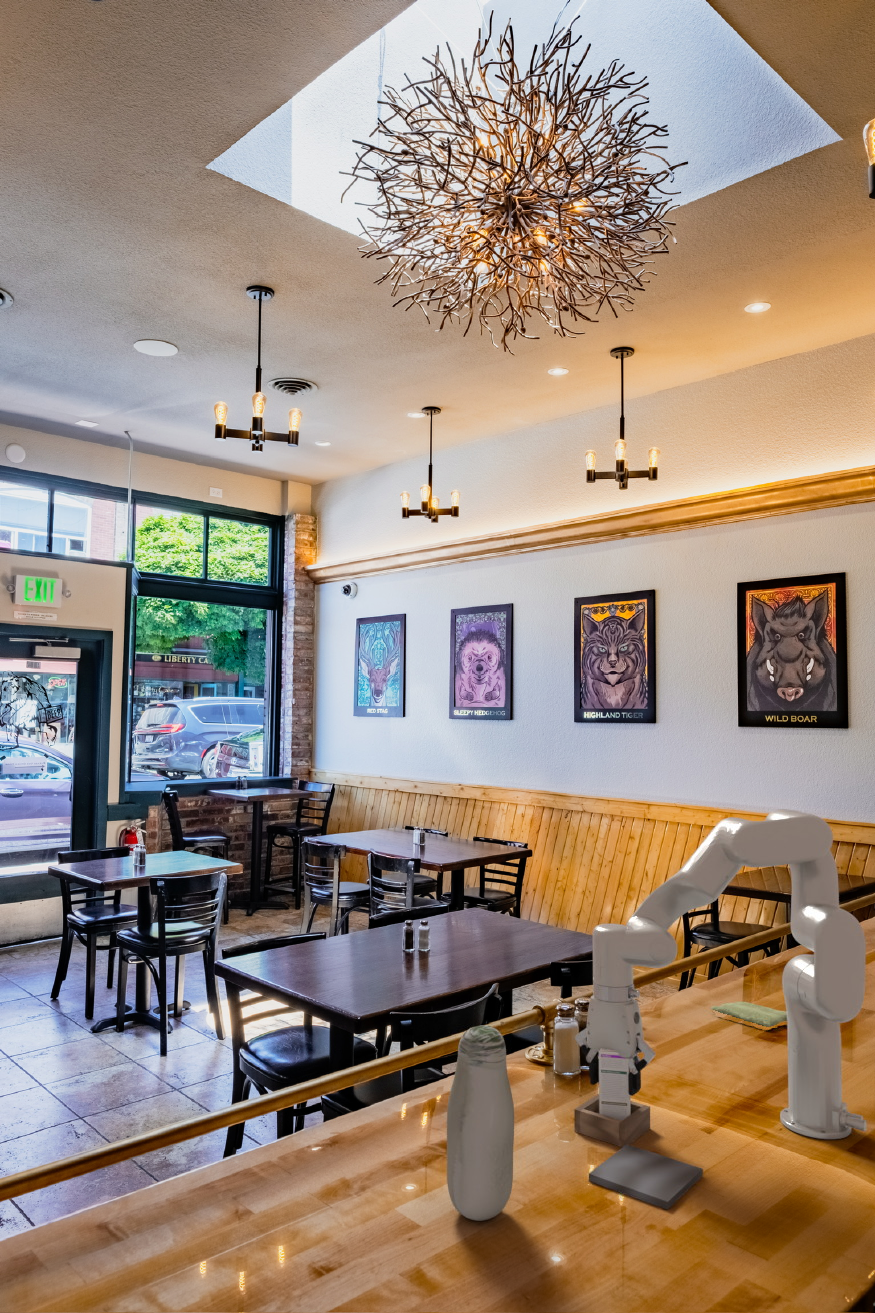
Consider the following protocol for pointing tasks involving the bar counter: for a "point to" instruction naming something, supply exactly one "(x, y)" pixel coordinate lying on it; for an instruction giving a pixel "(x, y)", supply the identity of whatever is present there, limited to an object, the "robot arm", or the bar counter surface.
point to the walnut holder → (611, 1123)
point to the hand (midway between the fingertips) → (614, 1087)
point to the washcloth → (752, 1013)
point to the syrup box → (613, 1085)
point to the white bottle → (480, 1126)
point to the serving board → (646, 1176)
